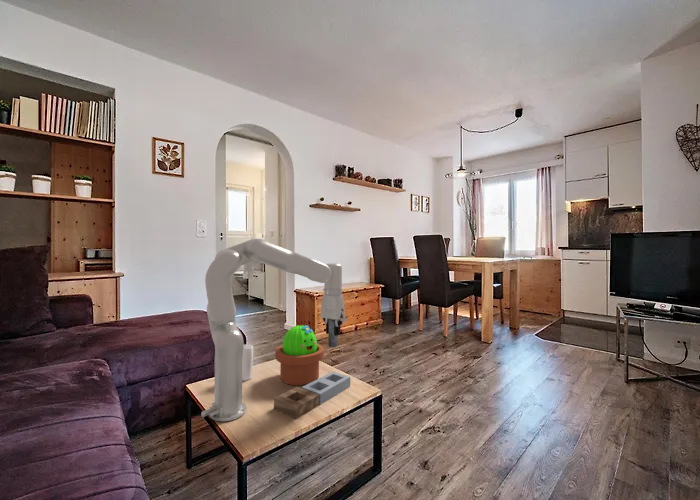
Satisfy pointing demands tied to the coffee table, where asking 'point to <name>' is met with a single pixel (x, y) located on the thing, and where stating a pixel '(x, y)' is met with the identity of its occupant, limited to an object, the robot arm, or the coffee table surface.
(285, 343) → the potted cactus
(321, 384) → the peg rack
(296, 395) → the socket block
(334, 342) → the metal peg
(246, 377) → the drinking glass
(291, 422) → the coffee table surface
